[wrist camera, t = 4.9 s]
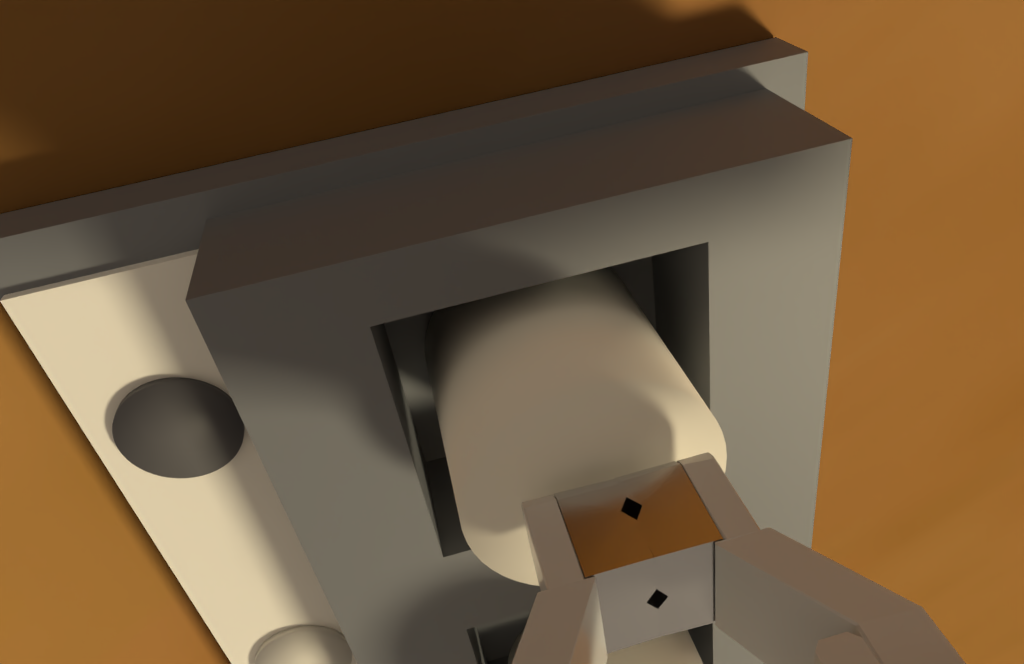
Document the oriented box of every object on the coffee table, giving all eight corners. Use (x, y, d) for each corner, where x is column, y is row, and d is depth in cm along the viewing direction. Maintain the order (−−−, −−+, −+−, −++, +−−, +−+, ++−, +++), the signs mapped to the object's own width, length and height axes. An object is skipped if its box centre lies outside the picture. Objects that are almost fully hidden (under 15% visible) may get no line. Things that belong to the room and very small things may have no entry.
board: (775, 37, 15) (903, 95, 12) (749, 712, 29) (804, 823, 26) (-10, 216, 14) (-110, 337, 11) (361, 832, 28) (368, 966, 25)
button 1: (626, 221, 15) (727, 347, 11) (640, 395, 17) (726, 545, 14) (401, 276, 14) (431, 426, 11) (448, 447, 17) (485, 614, 13)
